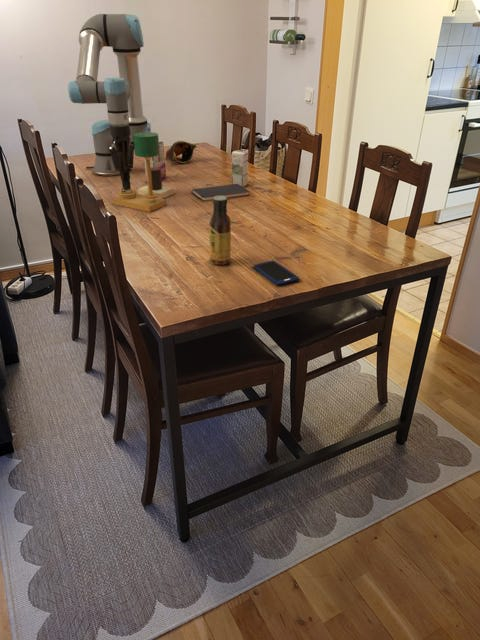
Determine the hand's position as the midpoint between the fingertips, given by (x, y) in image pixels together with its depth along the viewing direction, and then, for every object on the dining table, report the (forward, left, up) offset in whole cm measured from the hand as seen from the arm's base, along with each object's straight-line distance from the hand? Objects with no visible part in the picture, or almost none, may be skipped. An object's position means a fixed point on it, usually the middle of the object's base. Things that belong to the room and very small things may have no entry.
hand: (126, 187), depth 190 cm
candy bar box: (-11, +32, -6) cm, 34 cm away
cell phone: (+80, -29, -6) cm, 85 cm away
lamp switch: (0, 0, -2) cm, 2 cm away
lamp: (+12, 0, -2) cm, 12 cm away
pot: (-22, +67, -6) cm, 71 cm away
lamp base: (+6, 0, -6) cm, 8 cm away
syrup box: (+26, +45, -6) cm, 52 cm away
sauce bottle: (+62, -30, -6) cm, 69 cm away
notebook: (+26, +29, -6) cm, 39 cm away
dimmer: (+3, +14, -6) cm, 15 cm away
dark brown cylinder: (+3, +14, -3) cm, 15 cm away
